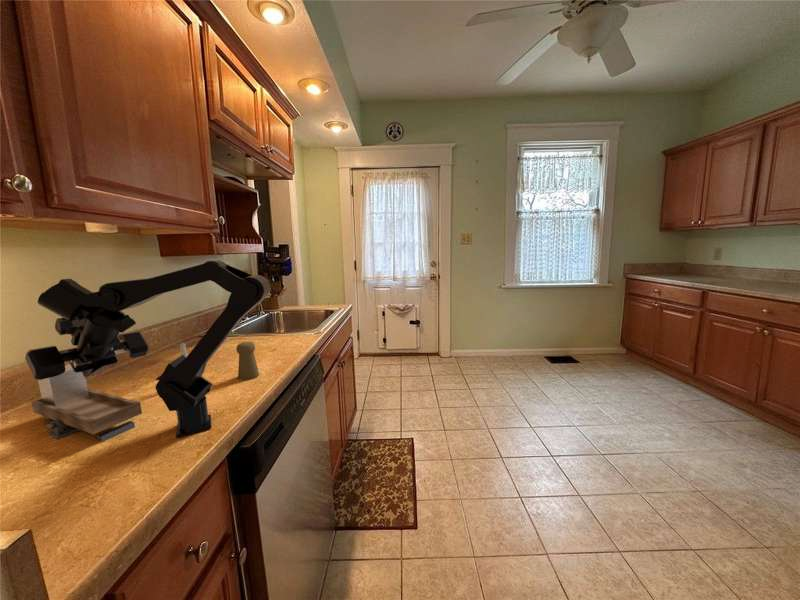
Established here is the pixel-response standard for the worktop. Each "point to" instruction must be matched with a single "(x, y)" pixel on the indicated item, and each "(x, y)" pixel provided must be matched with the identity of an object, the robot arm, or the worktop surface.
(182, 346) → the screw
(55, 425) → the pivot stand
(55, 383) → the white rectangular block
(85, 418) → the wooden serving tray
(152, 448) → the worktop surface
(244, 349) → the cork
